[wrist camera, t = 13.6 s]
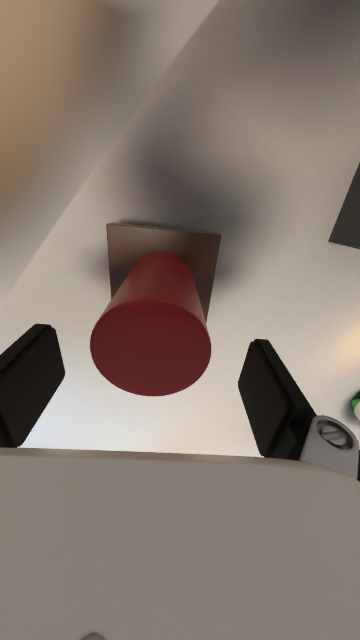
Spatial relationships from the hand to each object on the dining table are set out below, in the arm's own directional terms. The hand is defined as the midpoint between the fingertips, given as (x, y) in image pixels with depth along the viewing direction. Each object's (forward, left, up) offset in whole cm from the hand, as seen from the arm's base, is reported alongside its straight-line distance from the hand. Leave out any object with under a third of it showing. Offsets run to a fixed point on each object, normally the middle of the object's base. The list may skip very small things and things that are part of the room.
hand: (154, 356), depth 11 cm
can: (0, 0, -12) cm, 12 cm away
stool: (0, 0, -17) cm, 17 cm away
